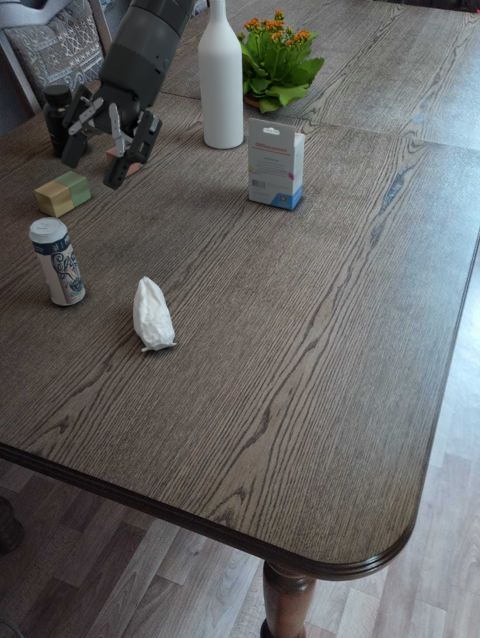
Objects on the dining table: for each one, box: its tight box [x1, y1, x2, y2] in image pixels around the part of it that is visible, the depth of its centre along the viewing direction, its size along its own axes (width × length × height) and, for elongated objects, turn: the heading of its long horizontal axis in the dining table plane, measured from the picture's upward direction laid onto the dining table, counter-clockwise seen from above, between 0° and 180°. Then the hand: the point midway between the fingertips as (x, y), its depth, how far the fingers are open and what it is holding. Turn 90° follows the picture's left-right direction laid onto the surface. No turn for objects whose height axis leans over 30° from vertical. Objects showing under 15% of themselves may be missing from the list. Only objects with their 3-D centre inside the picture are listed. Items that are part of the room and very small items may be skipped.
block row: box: [33, 145, 140, 219], centre depth 98 cm, size 4×20×4 cm, turn 146°
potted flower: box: [236, 9, 326, 115], centre depth 121 cm, size 25×24×18 cm
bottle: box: [197, 0, 244, 150], centre depth 102 cm, size 8×8×30 cm
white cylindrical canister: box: [28, 216, 86, 306], centre depth 75 cm, size 5×5×12 cm
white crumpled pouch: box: [132, 275, 177, 353], centre depth 73 cm, size 5×7×10 cm
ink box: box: [247, 117, 306, 211], centre depth 92 cm, size 8×5×15 cm, turn 66°
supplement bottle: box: [42, 83, 90, 158], centre depth 105 cm, size 7×7×12 cm
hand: (88, 176), depth 72 cm, fingers open, 8 cm apart
